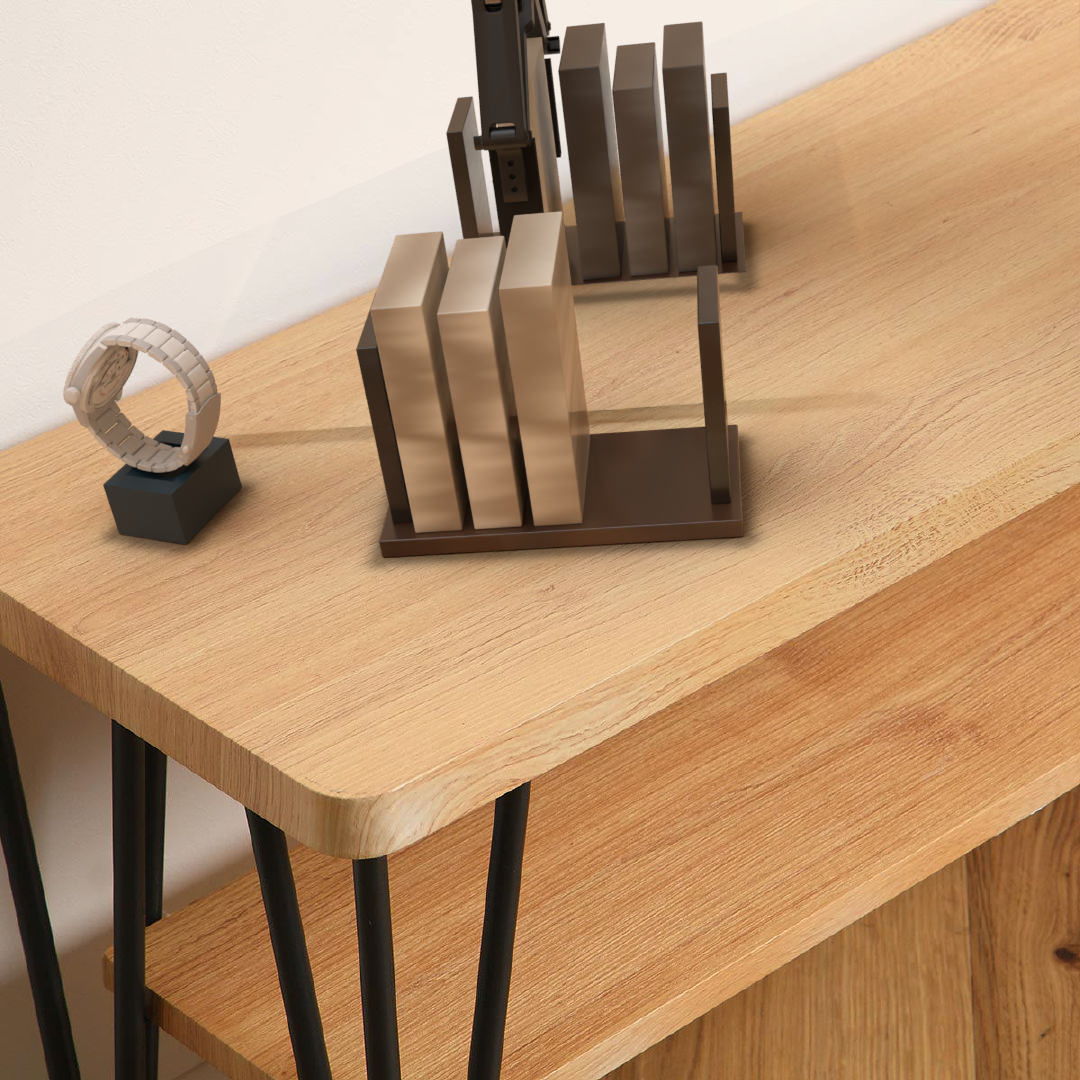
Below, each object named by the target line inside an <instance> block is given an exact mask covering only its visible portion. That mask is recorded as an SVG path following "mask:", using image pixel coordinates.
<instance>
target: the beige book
mask: <svg viewBox="0 0 1080 1080" xmlns="http://www.w3.org/2000/svg"><path fill="white" fill-rule="evenodd" d="M544 59H545V55H544V52H543V44H542V37H537V38H527V61H528V85H529V109H530V130H531V131H532V138H535V142H536V150H537V159H538V167H539V175H540V183H541V191H542V199H543V208H544V213H549V212H561V211H562V212H563V213H564V208H563V199H562V192H561V183H560V175H559V167H558V158H556V150H555V142H554V133H553V125H552V117H551V109H550V101H549V93H548V84H547V76H546V68H545V60H544ZM503 126H515V125H514V124H513V123H503V124H497V127H503ZM563 220H564V221H565V216H564V214H563ZM565 226H566V224H565V222H564V228H565Z"/></svg>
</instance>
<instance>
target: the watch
mask: <svg viewBox="0 0 1080 1080" xmlns="http://www.w3.org/2000/svg"><path fill="white" fill-rule="evenodd" d="M139 352H141V353H143V354H147V356H149V357H150V358H152V359H153V360H155V361H157V362H158V363H160V364H162V365H163V367H164V368H166V369H167V370H168V371H169V372H170V373H171V374H172V375H175V378H176V380H177V381H178V383H179V384H180V385H181V387H182V388H183V389H185V391H184V392H185V394H186V400H187V401H186V402H187V408H188V412H186V414H185V425H184V432H181V431H173V430H164V429H162V430H161V431H160V432H159V433H157V434H156V435H155V436H154V437H153V438H151V437H150V436H148V435H145V433H143V432H142V431H141V430H140V429H139V428H138V427H136V426H135V425H132V422H131V421H130V419H128V417H127V416H126V415H125V414H124V413H123V412H121V408H120V406H119V405H118V402H119V401H120V400H121V399H122V396H123V392H124V391H123V390H124V387H125V385H126V383H128V380H129V378H130V376H131V375H132V372H133V370H134V369H135V366H136V363H137V359H138V356H139ZM203 356H204V355H202V354H200V352H199V350H198V349H197V348H196V346H194V344H192V343H191V341H189V340H188V339H187V338H186V337H185V336H184V335H183V334H182V333H180V332H178V331H177V330H176V329H173V328H171V327H170V326H169V325H166V324H165V323H163V322H160V321H156V320H154V319H151V318H145V317H144V318H140V317H128V318H127V319H126V320H125V321H123V322H122V323H119V322H118V321H112V322H109V323H107V324H105V325H104V326H102V327H101V328H99V329H98V330H97V331H96V332H95V333H94V334H93V335H92V336H91V337H90V338H89V339H88V340H87V341H86V342H85V344H84V345H83V347H82V348H81V349H80V351H79V352H78V354H77V355H76V357H75V359H74V361H73V363H72V364H71V366H70V368H69V371H68V373H67V376H66V379H65V381H64V384H63V391H62V397H63V400H64V402H65V403H66V404H67V405H69V406H71V407H72V410H73V412H74V414H75V417H76V418H77V421H78V423H79V424H80V426H82V427H83V428H85V429H87V430H88V431H89V432H90V434H91V435H92V436H93V438H94V439H95V440H96V441H97V443H98V444H99V445H101V446H102V447H103V448H104V449H106V451H107V452H108V453H109V454H111V455H112V456H113V457H114V458H116V459H118V460H120V461H121V462H122V463H124V465H123V466H121V468H119V469H118V470H117V471H116V472H115V473H114V474H113V475H111V476H110V477H109V478H108V479H107V480H106V481H105V482H104V483H103V484H102V486H103V489H104V493H105V495H106V499H107V501H108V505H109V507H110V510H111V511H110V512H111V513H112V516H113V520H114V522H115V525H116V528H117V532H118V534H119V535H123V536H131V537H138V538H143V539H149V540H156V541H161V542H167V543H175V544H179V545H187V544H188V543H190V542H191V541H192V540H193V539H194V538H195V536H197V534H198V533H199V532H200V531H201V530H203V528H205V526H207V524H208V523H209V522H210V521H211V520H212V519H213V518H214V517H215V516H216V515H217V514H218V513H219V512H220V511H221V510H222V509H223V508H224V507H225V506H226V505H227V503H229V502H230V501H231V500H232V499H233V498H234V497H235V495H237V493H238V492H239V491H240V490H241V489H242V488H243V485H242V482H241V478H240V475H239V471H238V467H237V463H236V459H235V456H234V452H233V449H232V445H231V441H230V439H229V438H228V437H227V438H226V437H220V436H215V434H216V432H217V431H216V430H217V427H218V425H219V422H220V417H221V407H222V406H221V405H222V393H221V392H220V391H219V392H218V385H217V383H216V378H215V375H214V373H213V372H212V369H211V368H210V365H209V364H208V362H207V361H206V359H205V358H204V357H203Z"/></svg>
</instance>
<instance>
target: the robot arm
mask: <svg viewBox="0 0 1080 1080" xmlns="http://www.w3.org/2000/svg"><path fill="white" fill-rule="evenodd" d="M470 4H471V12H472V23H473V38H474V50H475V51H474V52H475V53H474V54H475V65H476V78H477V80H476V81H477V93H478V105H479V106H478V107H479V120H480V133H481V134H480V135H479V136H473V140H474V147H475V150H481V151H487V152H488V158H489V165H490V173H491V178H492V186H493V194H494V200H495V201H494V202H495V208H496V215H497V222H498V229H499V232H500V236H504V238H505V244H506V249H507V247H508V242H509V237H510V233H511V228H512V223H513V218H514V216H515V215H525V214H537V213H544V208H543V199H542V191H541V183H540V175H539V167H538V159H537V150H536V142H535V138H532V131H531V130H530V109H529V85H528V61H527V38H537V37H542V44H543V52H544V56H550V55H561V38H560V36H559V35H554V36H550V33H551V32H550V31H551V30H552V24H551V22H550V20H549V15H548V10H547V9H548V8H547V3H546V0H470ZM544 60H545V68H546V76H547V84H548V93H549V101H550V109H551V117H552V125H553V133H554V142H555V150H556V158H557V159H560V158H562V146H561V137H560V128H559V119H558V109H557V101H556V100H557V99H556V92H555V83H554V75H553V74H554V73H553V66H552V65H553V64H552V57H547V58H544ZM503 123H513V124H514V125H515V126H503V127H497V124H503Z"/></svg>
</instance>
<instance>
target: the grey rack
mask: <svg viewBox="0 0 1080 1080" xmlns="http://www.w3.org/2000/svg"><path fill="white" fill-rule="evenodd" d="M703 23H704V22H703V21H691V22H680V23H671V24H664V25H663V33H662V35H663V36H662V58H661V59H662V61H661V62H662V63H661V66H662V67H661V73H662V86H663V87H662V88H663V98H664V99H663V100H664V112H665V120H666V121H665V122H666V123H665V124H666V135H667V149H668V159H669V172H670V173H669V174H670V185H671V197H672V208H673V211H672V212H673V217H672V216H671V215H670V206H669V205H670V204H669V194H668V182H667V171H666V170H667V168H666V159H665V156H666V155H665V146H664V145H665V144H664V133H663V123H662V122H663V121H662V120H663V119H662V109H661V97H660V86H659V83H660V82H659V72H658V71H659V70H658V59H657V48H656V47H657V46H656V42H655V41H651V42H642V43H632V44H631V43H630V44H622V45H621V44H620V45H616V51H615V59H614V60H615V61H614V70H613V78H612V82H611V72H610V62H609V51H608V43H607V32H606V23H605V22H600V23H588V24H579V25H569V26H566V27H565V33H564V38H563V43H562V48H561V53H560V59H559V65H558V71H557V73H558V80H559V81H558V82H559V89H560V97H561V106H562V115H563V123H564V124H563V125H564V131H565V141H566V148H567V149H566V151H567V157H568V167H569V175H570V182H571V191H572V200H573V207H574V215H575V224H576V225H565V236H566V244H567V252H568V260H569V268H570V277H571V285H572V287H573V286H585V285H598V284H600V285H601V284H612V283H623V282H625V283H626V282H638V281H649V280H650V281H651V280H661V279H664V280H665V279H675V278H687V277H697V267H698V266H710V265H717V267H718V275H726V274H737V273H739V274H740V273H747V260H746V245H745V231H744V216H743V211H736V208H735V207H736V205H735V190H734V189H735V188H734V172H733V155H732V141H731V140H732V138H731V137H732V136H731V121H730V105H729V104H730V103H729V88H728V85H729V84H728V73H727V72H717V73H711V74H710V93H711V94H710V97H711V114H712V117H711V118H712V131H713V132H712V133H713V148H714V163H715V180H716V195H717V197H716V198H717V211H718V213H716V207H715V192H714V191H715V189H714V176H713V160H712V147H711V145H712V143H711V131H710V115H709V114H710V113H709V101H708V100H709V99H708V86H707V70H706V68H707V67H706V53H705V40H704V39H705V38H704V24H703ZM455 101H456V102H455V104H454V107H453V112H452V114H451V117H450V120H449V123H448V126H447V130H446V133H445V134H446V140H447V147H448V153H449V160H450V165H451V172H452V178H453V184H454V190H455V191H454V192H455V197H456V202H457V203H456V204H457V207H458V215H459V221H460V227H461V233H462V239H470V238H482V237H494V236H500V231H494V230H493V222H492V216H491V215H492V214H491V209H490V202H489V195H488V188H487V182H486V181H487V180H486V175H485V168H484V162H483V154H482V150H475V147H474V140H473V136H480V135H479V128H478V122H477V116H476V109H475V102H474V97H473V96H462V97H457V98H456V100H455ZM670 216H671V217H670ZM506 251H507V249H506Z"/></svg>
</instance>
